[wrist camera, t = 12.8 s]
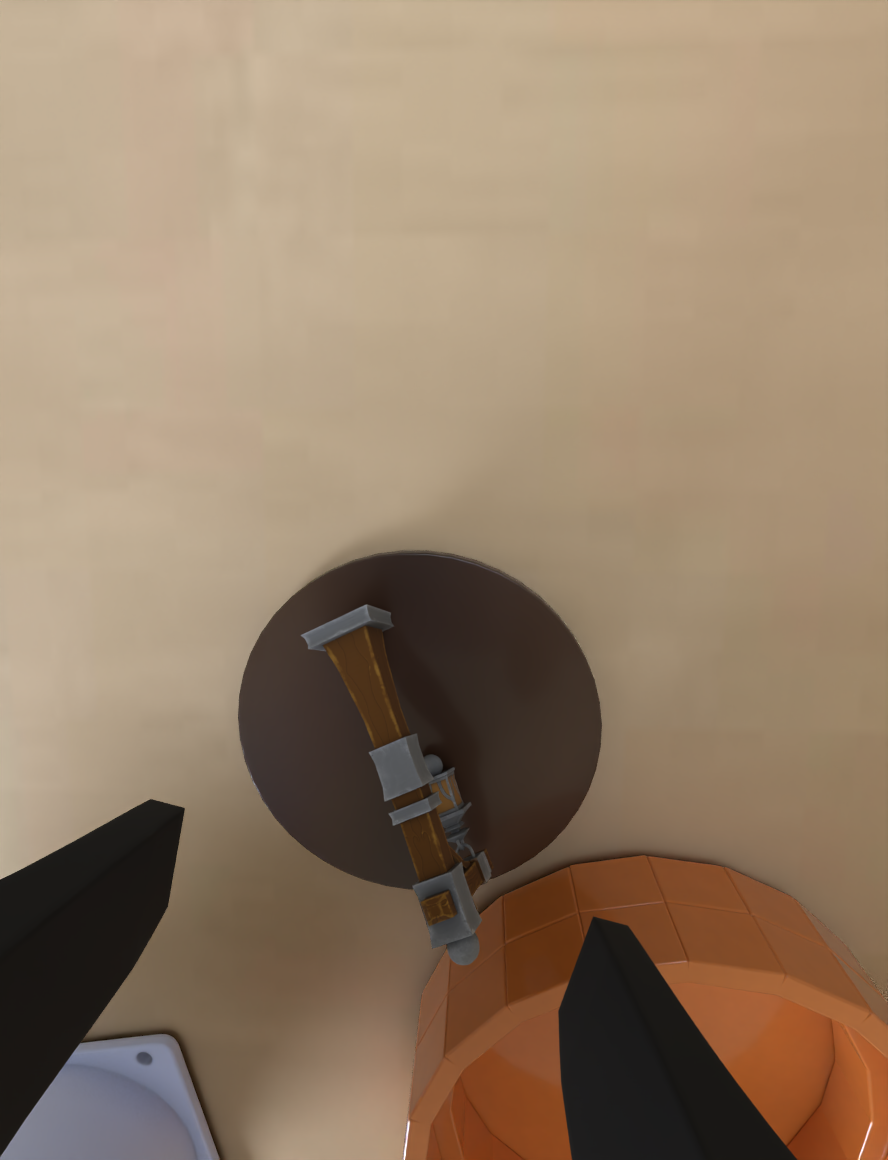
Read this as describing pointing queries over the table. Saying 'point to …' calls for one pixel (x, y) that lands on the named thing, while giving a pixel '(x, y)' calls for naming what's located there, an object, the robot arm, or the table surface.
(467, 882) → the wooden post with brackets
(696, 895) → the bowl
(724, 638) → the table surface
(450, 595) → the coaster
